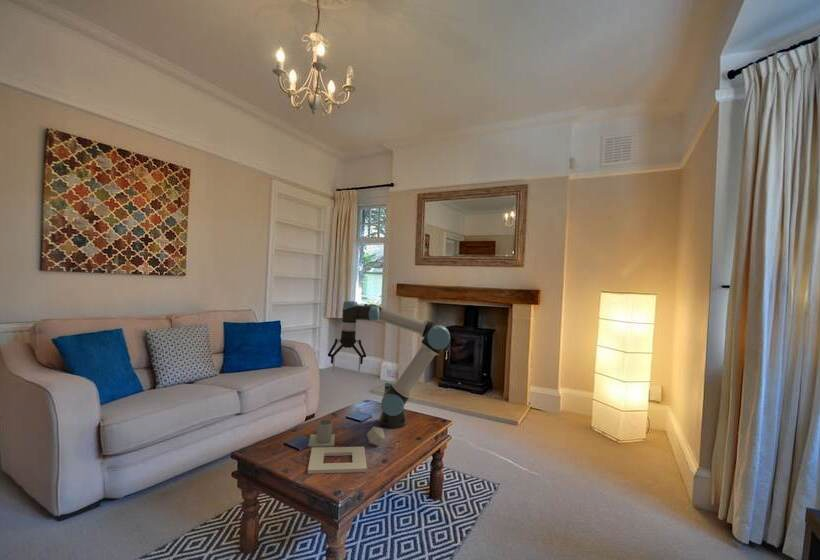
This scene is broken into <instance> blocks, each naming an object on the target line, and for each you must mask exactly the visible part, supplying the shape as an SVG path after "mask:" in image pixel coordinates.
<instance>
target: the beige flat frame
mask: <svg viewBox="0 0 820 560" xmlns="http://www.w3.org/2000/svg"><path fill="white" fill-rule="evenodd" d="M310 451H311V453H310V455H309V456H310V457H309V461H308V468H307V475H310V474H311V475H312V474H314V475H315V474H317V475H319V474H344V473H345V474H348V473H367V472H368V471H367V469H368V468H367V459H366V450H365V446H333V447H311V450H310ZM338 456H339V457H341V456H342V457H343V456H351V458H352V459H351V461H352V462H325V463H324V458H325V457H338Z"/></svg>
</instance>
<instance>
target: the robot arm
mask: <svg viewBox="0 0 820 560" xmlns="http://www.w3.org/2000/svg"><path fill="white" fill-rule="evenodd" d="M341 317H342V318H341V331H340V332H341V334H340V339H339V338H335V339H334V343H333V345H332V346H331V347H330V349H329V352H327V356H328V357H329V358H330V364H332V371H335V361H336V359H335V358H336V357H335V356H336V355H337V354H338V353H339V352H340V350H341V349H343V348H345V349H347V348H349V349H353V350H354V351H355V353H357V355H358V356H359V358H358V369H357V370H358V371H359V372H360V371H361V365H363V361H364V359H365V358H367V354H366V352H365V350H364V349H365V348H364V346H363V345H362V339H361V338H359V339H356V334H357V332H356V330H357V320H361V321H371V322H374V321H380V322H383V323H385V324H388V325H392V326H394V327H397V328H401V329H403V330H406V331H409V332H413V333H415V334H419V336H421V337H422V340H421V342H420V343H421V345H420V348H419V349H418V351H417V352H416V354H415V355H414V356H413V358H412V360H411V361H410V362H409V364H408V365H407V367H405V370H404V371H403V372H402V374H401V375H400V377H399V378H398V380H397V381H395V380H394V381H386V382H384V383H385V384H384V392H383V397H382V399H381V402H380V403H381V409H382V411H381V414H380V417H379V424H380V425H381V426H383V427H386V428H391V429H399V428H403V427H404V426H406V425H407V417H406V413H405V405H406V404H407V402H408V401H409V399H410V397H411V394H410V393H411V391H412V389H413V388H414V387H415V385H416V384H417V382H418V381H419V379H420V378H421V377H422V375H423V373H424V372H425V371H426V370H427V368H428V367H429V365H430V363H431V362H432V361H433V359H434V357H436V356H440V354H441V353H442V351H443V350H444V349H445V348H446V347H447V346H448V345H449V344H450V341H451V333H450V331H449V329H448V328H447V327H446V326H445V325H444V324H443V323H440V322H434V321H430V320H427V319H426V320H421V319H418V318H414V317H411V316H410V315H409V316H408V315H405V314H403V313H399V312H396V311H393V310H391V309H388V308H384V307H381V306H378V305H376V304H375V303H374V304H373V303H371V304H368V305H358V301H352V300H345V301H344V302H343V305H342V316H341ZM339 342H340V345H339V346H338V348H337V349H336V346H337V344H339ZM356 343H357V345H358V346H359V348H360V350H361V352H360V350H359V349H358V348H357V347H356V345H355V344H356ZM334 349H335V351H334ZM333 351H334V352H333Z"/></svg>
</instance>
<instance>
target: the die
mask: <svg viewBox="0 0 820 560" xmlns="http://www.w3.org/2000/svg"><path fill="white" fill-rule="evenodd" d="M366 436H367V439H368V443H369V444H370V445H372V446H376V447H379V446H380V445H381V444H382V443H383V442H384V440H385V439H386V435H385V432H384V429H383V428H382V427H378V426H374V425H373V426H372V428H370V430H369V431H368V432H367V433H366Z"/></svg>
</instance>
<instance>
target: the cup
mask: <svg viewBox="0 0 820 560" xmlns="http://www.w3.org/2000/svg"><path fill="white" fill-rule="evenodd" d="M316 434H317V435H316V441H317V442H318V443H328V442H330V441H331V437H332V434H333V420H331V419H327V418H326V419H325V418H323V419H319V420H318V421H317V422H316Z"/></svg>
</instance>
